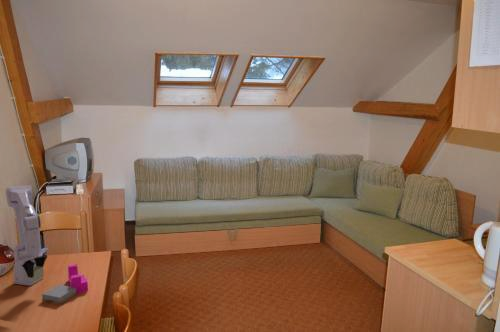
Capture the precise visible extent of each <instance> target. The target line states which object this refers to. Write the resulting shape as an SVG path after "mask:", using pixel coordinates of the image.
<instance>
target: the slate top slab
mask: <svg viewBox="0 0 500 332" xmlns="http://www.w3.org/2000/svg"><path fill="white" fill-rule="evenodd" d="M74 293H76V288H74V287H70V286H68V285H62V284H58V285H56V286H54V287H52V288H50V289H49V290H46V291H45V292H42V293H41V296H42V298H41V300H42V299H47V300H52V301H57V302H61V301H63V300H64V299H66V298H68V297H69V296H71V295H72V294H74Z"/></svg>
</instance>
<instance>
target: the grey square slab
mask: <svg viewBox="0 0 500 332" xmlns="http://www.w3.org/2000/svg"><path fill="white" fill-rule="evenodd" d="M76 295H77V294H76V293H74V294H72V295H71V296H69V297H68V298H66V299H64V300H63V301H61V302H57V301H52V300H47V299H42V298H41V300H42V301H41V302H42V303H48V304H52V305H58V306H61V305H63V304H64V303H66V302H67V301H70V300H71V299H72V298H74V297H75V296H76Z"/></svg>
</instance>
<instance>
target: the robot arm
mask: <svg viewBox="0 0 500 332" xmlns="http://www.w3.org/2000/svg"><path fill="white" fill-rule="evenodd" d="M5 196H6V202H7V205H8V207H10V208H12V209H13V211H14V215H15V220H16V221H15V222H16V227H17V233H18V240H19V243H17V244H16V245H15V246H14V248H13V257H14V258H13V259H14V263H15V264H14V266H13V279H14V280H13V282H12V283H13V284H16V285H17V284H18V285H22V286H23V285H24V286H29V287H30V286H32V285H34V284H35V283H37V282H40V281H41V280H42V279H43V278H44V277H43V278H41V279H39V280H37V281H30V280H27V276H28V277H30V278H32V277H33V268H34V266H40V267H43V268H44V265H45V262H46V261H47V259H48V255H47V254H49V248H48V247H42V246H41V234H40V233H41V232H40V229H41V226H42V221H41V218H40V215H39V214H38V213H36V210H35V207H34V206H33V205H32V204H31V202H32V200H33V199H32V198H33V190H32V186H31V185H30V184H27V185H21V186H20V185H19V186H11V187H6V188H5ZM26 273H27V274H26Z"/></svg>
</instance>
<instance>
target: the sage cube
mask: <svg viewBox="0 0 500 332" xmlns="http://www.w3.org/2000/svg"><path fill="white" fill-rule="evenodd" d="M44 272H45V271H44V266H43V267H40V266H34V268H33V277H32V278H30V277H28V276H27V280H30V281H37V280H39V279H41V278H44V277H45V273H44ZM26 274H27V273H26ZM41 280H42V279H41ZM39 281H40V280H39Z"/></svg>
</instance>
